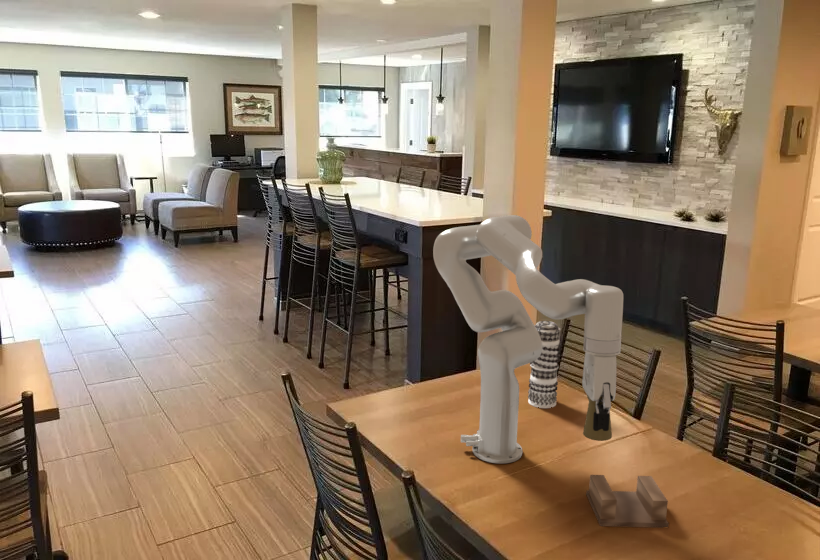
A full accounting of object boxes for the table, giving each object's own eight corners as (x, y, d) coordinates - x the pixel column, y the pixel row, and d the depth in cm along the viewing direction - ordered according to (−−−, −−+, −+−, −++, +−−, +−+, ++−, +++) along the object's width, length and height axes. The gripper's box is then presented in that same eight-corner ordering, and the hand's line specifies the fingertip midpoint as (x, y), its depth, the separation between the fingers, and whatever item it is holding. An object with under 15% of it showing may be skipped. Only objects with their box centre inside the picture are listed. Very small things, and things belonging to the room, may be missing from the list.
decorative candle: (560, 409, 191) (566, 328, 186) (529, 408, 191) (534, 327, 186) (554, 396, 200) (559, 319, 195) (524, 396, 200) (528, 318, 195)
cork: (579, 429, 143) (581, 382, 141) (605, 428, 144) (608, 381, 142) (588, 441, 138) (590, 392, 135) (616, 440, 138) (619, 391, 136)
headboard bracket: (600, 525, 134) (602, 502, 133) (586, 494, 146) (587, 472, 145) (668, 527, 134) (670, 503, 133) (648, 495, 146) (651, 473, 145)
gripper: (575, 333, 145) (572, 410, 149) (593, 356, 129) (589, 442, 132) (609, 333, 145) (605, 410, 148) (632, 357, 128) (626, 443, 132)
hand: (597, 424), depth 140 cm, fingers closed on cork, 4 cm apart
